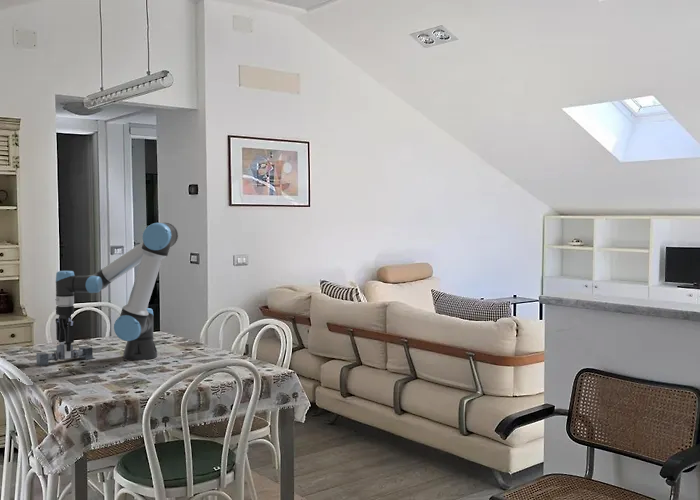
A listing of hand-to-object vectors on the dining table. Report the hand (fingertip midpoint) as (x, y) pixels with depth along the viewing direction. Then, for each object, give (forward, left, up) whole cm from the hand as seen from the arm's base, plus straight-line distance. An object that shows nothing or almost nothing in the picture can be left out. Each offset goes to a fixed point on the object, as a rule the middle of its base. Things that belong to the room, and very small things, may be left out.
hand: (65, 357), depth 322 cm
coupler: (0, 0, 0) cm, 0 cm away
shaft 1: (+7, 0, -2) cm, 8 cm away
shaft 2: (-8, 0, -2) cm, 8 cm away
